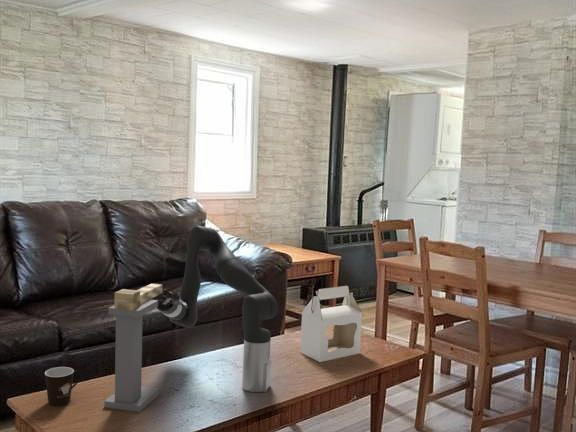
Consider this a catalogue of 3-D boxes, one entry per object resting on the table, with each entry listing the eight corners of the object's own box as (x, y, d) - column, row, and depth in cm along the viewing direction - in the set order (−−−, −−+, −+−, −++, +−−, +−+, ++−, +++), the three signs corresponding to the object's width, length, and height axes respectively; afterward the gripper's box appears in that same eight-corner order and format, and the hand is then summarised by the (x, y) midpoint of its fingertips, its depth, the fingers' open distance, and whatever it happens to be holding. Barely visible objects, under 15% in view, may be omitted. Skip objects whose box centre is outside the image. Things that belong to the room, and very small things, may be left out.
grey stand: (158, 394, 195) (160, 300, 191) (139, 412, 181) (141, 311, 178) (125, 390, 197) (127, 297, 194) (104, 407, 183) (105, 307, 180)
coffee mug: (45, 409, 180) (46, 378, 179) (43, 399, 187) (43, 368, 186) (85, 403, 185) (85, 373, 184) (81, 393, 193) (81, 364, 192)
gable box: (339, 344, 256) (343, 281, 253) (360, 353, 245) (364, 288, 242) (299, 352, 243) (302, 286, 240) (319, 362, 232) (322, 293, 229)
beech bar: (148, 291, 203) (149, 277, 202) (164, 293, 202) (165, 279, 201) (114, 308, 180) (114, 292, 179) (132, 310, 178) (132, 294, 178)
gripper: (153, 293, 216) (135, 278, 202) (189, 296, 213) (174, 282, 199) (148, 312, 213) (130, 299, 199) (185, 316, 210) (169, 303, 196)
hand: (152, 290), depth 199 cm, fingers open, 8 cm apart
